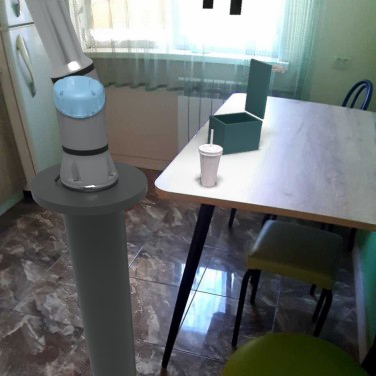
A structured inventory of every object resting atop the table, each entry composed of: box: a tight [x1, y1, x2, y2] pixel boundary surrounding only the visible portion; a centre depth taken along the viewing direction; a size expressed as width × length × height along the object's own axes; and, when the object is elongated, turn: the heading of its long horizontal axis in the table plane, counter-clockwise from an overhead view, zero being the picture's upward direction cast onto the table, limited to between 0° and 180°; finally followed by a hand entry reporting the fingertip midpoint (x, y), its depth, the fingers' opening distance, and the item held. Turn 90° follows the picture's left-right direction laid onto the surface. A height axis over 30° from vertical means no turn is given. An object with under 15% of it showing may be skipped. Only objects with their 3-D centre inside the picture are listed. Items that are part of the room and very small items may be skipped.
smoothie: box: [197, 129, 223, 188], centre depth 109 cm, size 6×6×14 cm
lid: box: [244, 58, 287, 120], centre depth 129 cm, size 14×11×8 cm
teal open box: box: [207, 111, 263, 156], centre depth 134 cm, size 14×11×9 cm
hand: (220, 11), depth 101 cm, fingers open, 13 cm apart
